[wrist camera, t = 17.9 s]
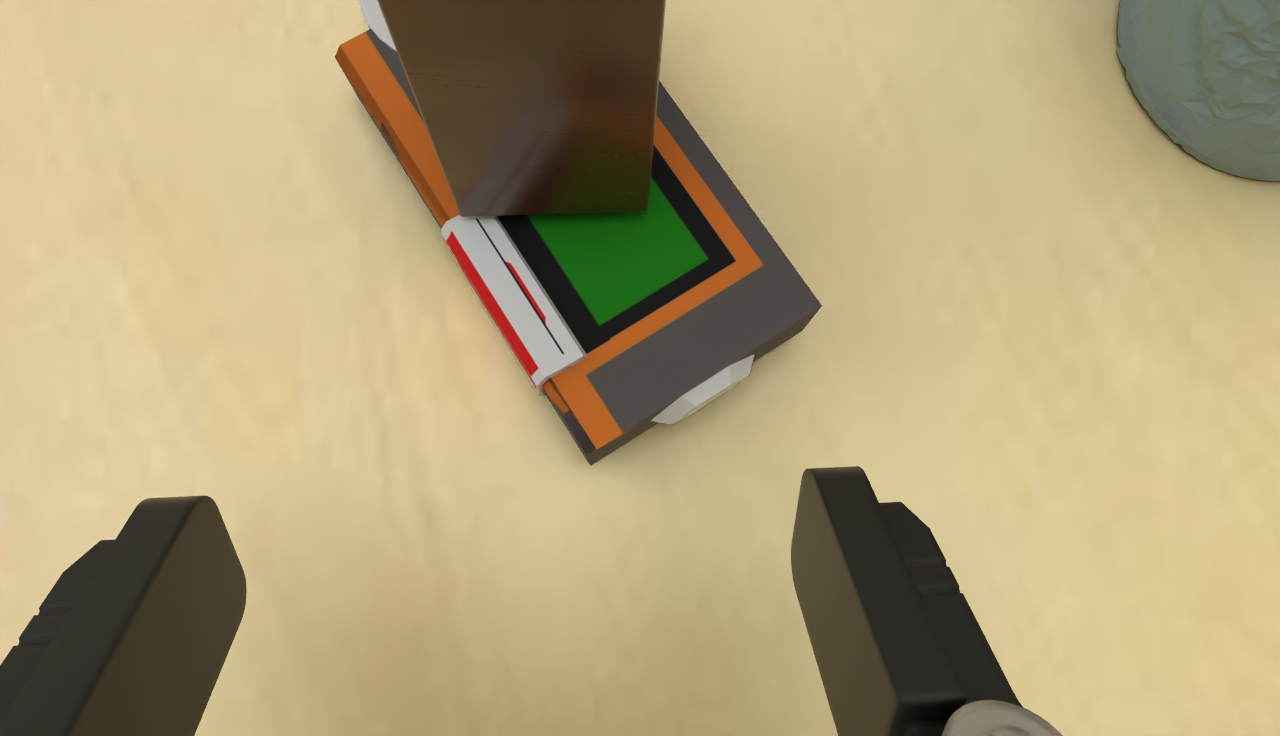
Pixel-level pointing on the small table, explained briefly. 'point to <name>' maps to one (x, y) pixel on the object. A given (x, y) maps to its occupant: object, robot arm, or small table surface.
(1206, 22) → the green cup
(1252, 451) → the small table surface
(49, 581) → the small table surface
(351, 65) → the electronic device
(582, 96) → the walnut block
